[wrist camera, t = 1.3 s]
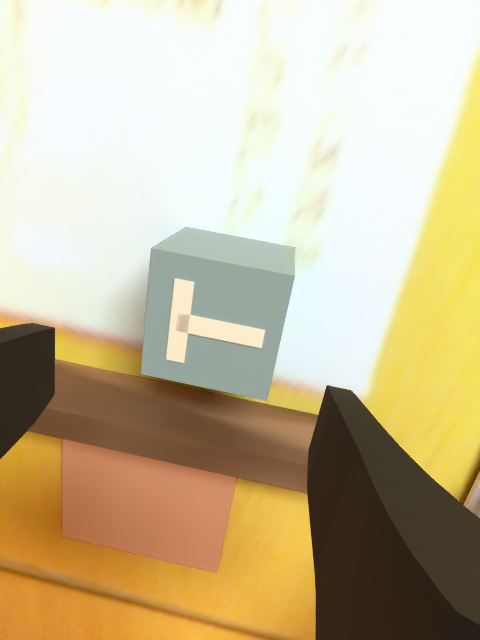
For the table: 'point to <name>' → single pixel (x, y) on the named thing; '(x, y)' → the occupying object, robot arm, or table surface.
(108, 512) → the terracotta tile
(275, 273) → the lettered cube
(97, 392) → the walnut plank
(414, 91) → the table surface
